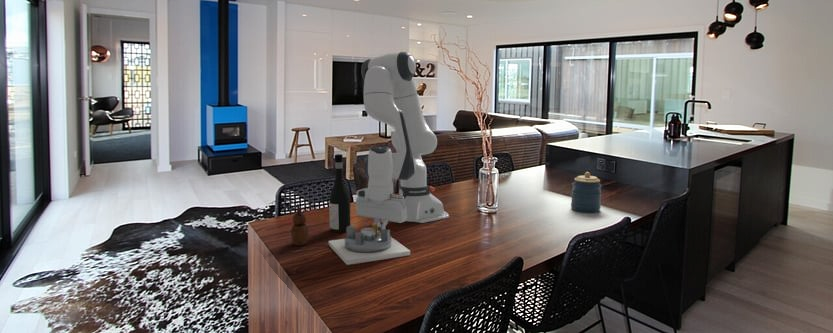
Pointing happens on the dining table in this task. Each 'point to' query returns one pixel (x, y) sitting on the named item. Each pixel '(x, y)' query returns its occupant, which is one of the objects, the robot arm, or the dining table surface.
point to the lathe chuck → (367, 239)
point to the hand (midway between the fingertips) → (381, 230)
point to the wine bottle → (339, 201)
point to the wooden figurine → (299, 228)
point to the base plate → (357, 257)
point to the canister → (586, 194)
